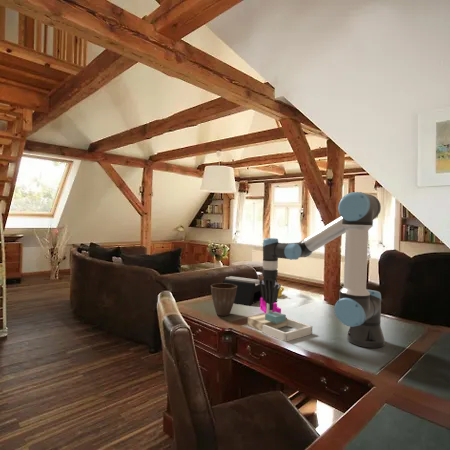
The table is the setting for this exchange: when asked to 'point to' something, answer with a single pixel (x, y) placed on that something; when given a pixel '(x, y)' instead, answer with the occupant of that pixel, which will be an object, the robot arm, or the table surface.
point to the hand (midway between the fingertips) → (269, 315)
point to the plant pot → (223, 297)
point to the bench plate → (264, 322)
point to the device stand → (245, 290)
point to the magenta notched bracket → (263, 307)
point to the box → (287, 336)
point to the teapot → (280, 291)
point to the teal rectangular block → (275, 317)
